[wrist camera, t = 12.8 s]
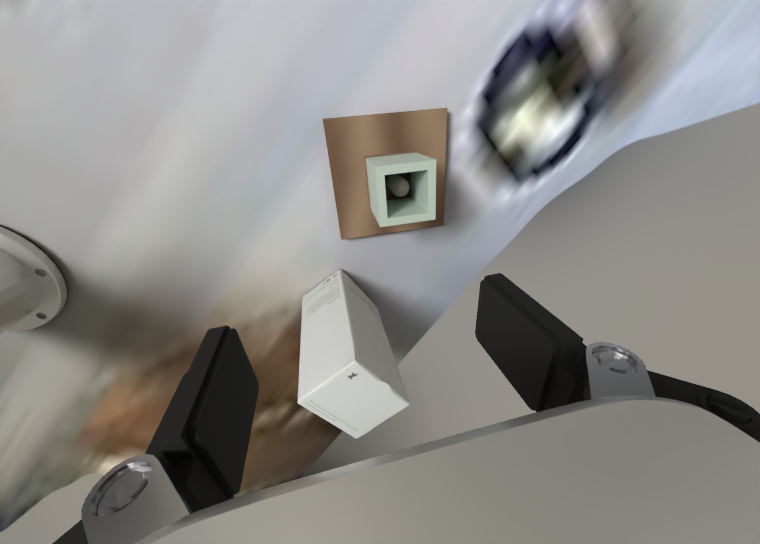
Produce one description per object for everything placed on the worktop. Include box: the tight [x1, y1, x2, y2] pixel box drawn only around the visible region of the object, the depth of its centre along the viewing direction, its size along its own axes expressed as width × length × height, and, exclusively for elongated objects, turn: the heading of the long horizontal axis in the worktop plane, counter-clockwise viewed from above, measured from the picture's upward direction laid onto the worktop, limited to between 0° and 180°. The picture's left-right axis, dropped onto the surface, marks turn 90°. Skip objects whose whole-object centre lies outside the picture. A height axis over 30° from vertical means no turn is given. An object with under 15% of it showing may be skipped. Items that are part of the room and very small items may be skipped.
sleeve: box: [364, 151, 436, 227], centre depth 27 cm, size 5×5×7 cm
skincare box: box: [297, 269, 410, 439], centre depth 30 cm, size 8×7×16 cm
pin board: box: [323, 108, 447, 239], centre depth 28 cm, size 12×12×6 cm
